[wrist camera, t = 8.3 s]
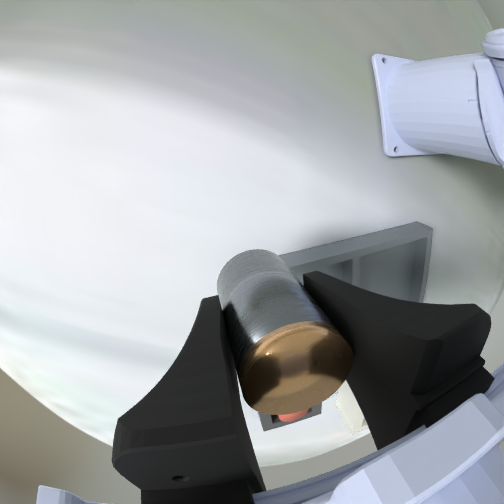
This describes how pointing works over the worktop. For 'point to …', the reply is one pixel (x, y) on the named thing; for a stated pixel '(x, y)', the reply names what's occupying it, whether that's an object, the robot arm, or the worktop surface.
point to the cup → (350, 409)
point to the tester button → (292, 416)
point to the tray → (373, 261)
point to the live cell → (279, 336)
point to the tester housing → (275, 422)
